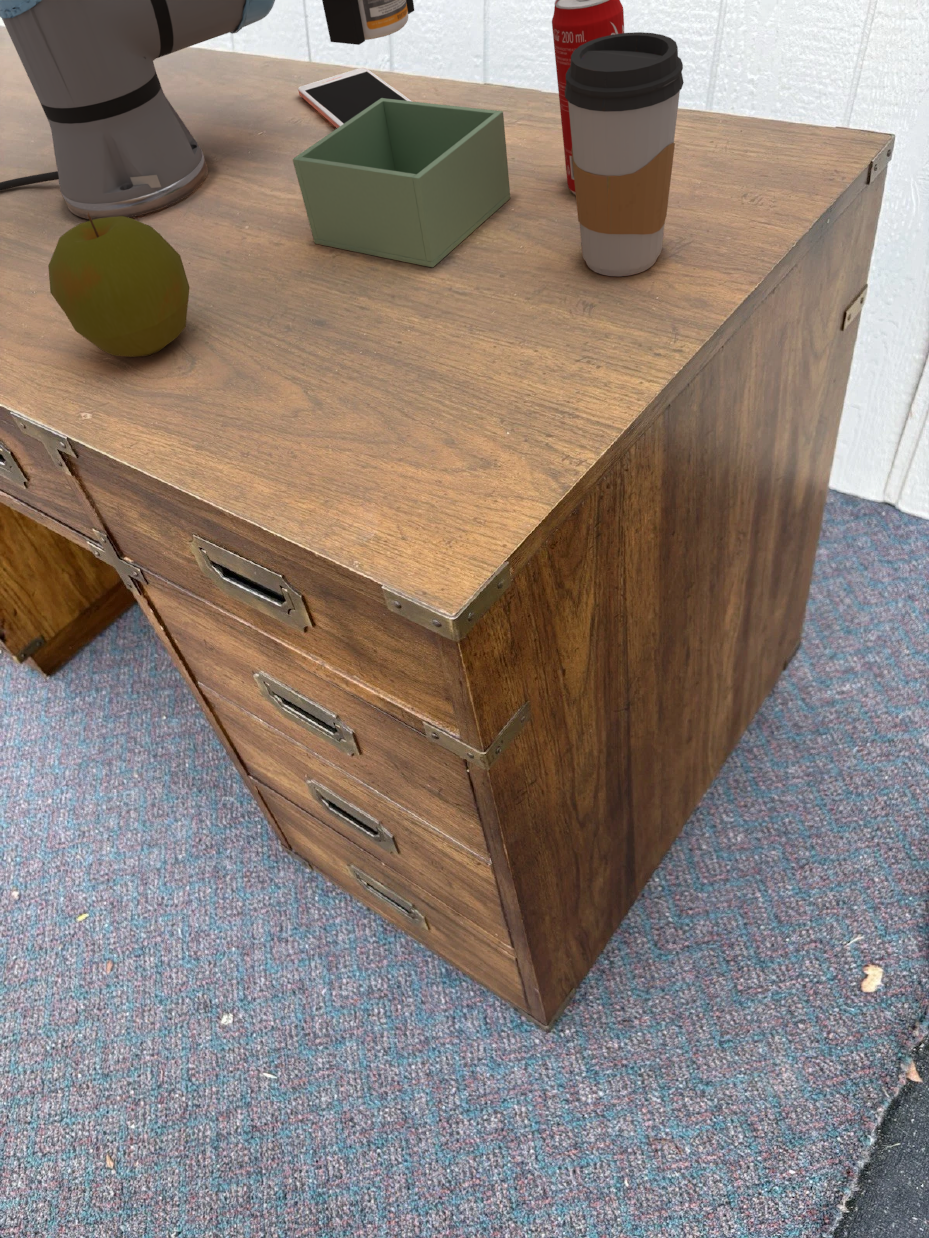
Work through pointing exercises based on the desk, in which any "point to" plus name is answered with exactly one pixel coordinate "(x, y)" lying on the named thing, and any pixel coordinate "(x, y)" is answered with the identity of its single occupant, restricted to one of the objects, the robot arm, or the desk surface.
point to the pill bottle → (382, 17)
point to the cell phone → (347, 94)
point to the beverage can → (577, 19)
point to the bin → (405, 179)
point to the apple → (120, 285)
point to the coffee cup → (623, 146)
